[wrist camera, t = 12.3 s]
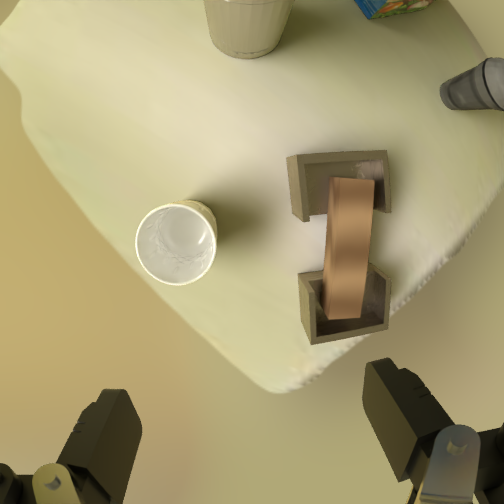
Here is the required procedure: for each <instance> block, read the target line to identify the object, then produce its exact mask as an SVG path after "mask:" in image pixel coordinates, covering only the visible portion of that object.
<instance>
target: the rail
mask: <svg viewBox="0 0 504 504" xmlns="http://www.w3.org/2000/svg"><path fill="white" fill-rule="evenodd" d="M373 200H374V180H366V179H356V178H342V177H329V193H328V214H327V232H326V246H325V260H324V272H323V283H322V293H321V303H320V306H321V307H322V309H323V311H324V312H325V314H326V316H327V318H328V319H329V320H330V319H347V318H360V315H361V309H362V302H363V296H364V289H365V282H366V274H367V266H368V257H369V248H370V238H371V227H372V215H373Z"/></svg>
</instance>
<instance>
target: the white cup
mask: <svg viewBox="0 0 504 504" xmlns="http://www.w3.org/2000/svg"><path fill="white" fill-rule="evenodd" d="M216 248H217V225H216V219H215V217H214V215H213V213H212V211H211V209H209V208H208V207H207V206H205V205H204V204H203V203H201V202H198V201H192V200H184V201H177V202H173V203H170V204H166V205H163V206H160V207H158V208H156V209H154V210H152V211H151V212H150V213H148V214H147V215H146V216H145V218H144V219H143V220H142V222H141V224H140V225H139V228H138V230H137V234H136V252H137V255H138V258H139V260H140V262H141V264H142V266H143V267H144V269H145V270H146V271H147V272H148V273H149V274H150V275H151V276H152V277H154V278H155V279H157V280H159V281H161V282H163V283H166V284H170V285H185V284H189V283H192V282H195V281H197V280H198V279H200V278H201V277H202V276H204V275H205V274H206V273H207V272H208V270H209V269H210V267H211V266H212V264H213V262H214V259H215V255H216Z"/></svg>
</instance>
